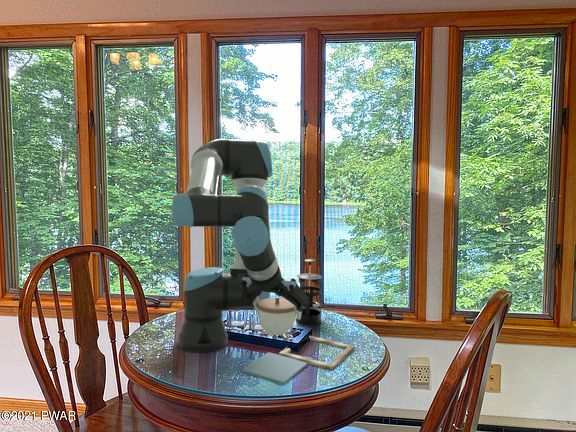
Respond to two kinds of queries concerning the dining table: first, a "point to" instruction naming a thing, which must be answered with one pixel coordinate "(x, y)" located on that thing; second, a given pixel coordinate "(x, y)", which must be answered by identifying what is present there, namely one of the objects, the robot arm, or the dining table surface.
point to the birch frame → (317, 363)
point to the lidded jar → (276, 315)
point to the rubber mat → (275, 367)
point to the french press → (310, 299)
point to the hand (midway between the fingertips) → (279, 312)
